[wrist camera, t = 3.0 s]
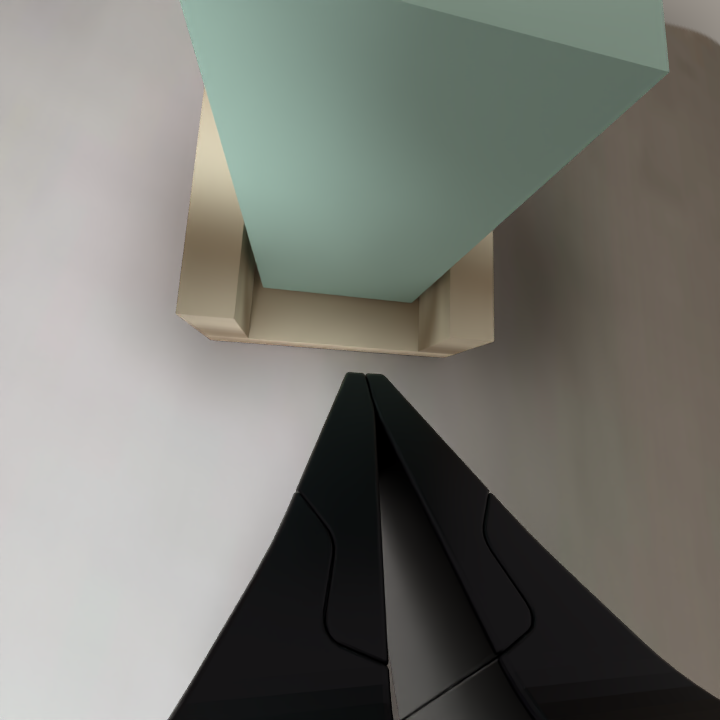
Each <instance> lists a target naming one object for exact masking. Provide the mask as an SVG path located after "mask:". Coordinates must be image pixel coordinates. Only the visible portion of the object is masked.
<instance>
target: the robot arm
mask: <svg viewBox="0 0 720 720" xmlns="http://www.w3.org/2000/svg"><path fill="white" fill-rule="evenodd" d="M488 493H489V490H488V489H487V487H486V486H485V485H484V484H483V483H482V482H481V481H480V480H479V479H478V478H477V476H476V475H475V474H474V473H473V472H472V471H471V470H470V469H469V468H468V467H467V466H466V464H465V463H464V462H463V461H462V460H461V459H460V458H459V457H458V456H457V455H456V453H455V452H454V451H453V450H452V449H451V448H450V447H449V446H448V445H447V444H446V443H445V441H444V440H443V439H442V438H441V437H440V436H439V435H438V434H437V433H436V432H435V430H434V429H433V428H432V427H431V426H430V425H429V424H428V423H427V422H426V421H425V420H424V418H423V417H422V416H421V415H420V414H419V413H418V412H417V411H416V410H415V409H414V407H413V406H412V405H411V404H410V403H409V402H408V401H407V400H406V399H405V398H404V397H403V395H402V394H401V393H400V392H399V391H398V390H397V389H396V388H395V387H394V386H393V384H392V383H391V382H390V381H389V380H388V379H387V378H386V377H385V376H384V375H382V374H369V373H368V374H366V375H364V374H363V373H354V372H348V373H346V375H345V377H344V379H343V382H342V384H341V386H340V389H339V391H338V393H337V396H336V398H335V400H334V403H333V405H332V407H331V410H330V412H329V414H328V417H327V419H326V421H325V424H324V426H323V428H322V431H321V433H320V435H319V438H318V440H317V442H316V445H315V447H314V449H313V451H312V454H311V456H310V458H309V461H308V463H307V465H306V468H305V470H304V472H303V475H302V477H301V479H300V482H299V484H298V486H297V489H296V493H294V495H293V497H292V500H291V502H290V504H289V507H288V509H287V511H286V513H285V516H284V518H283V520H282V522H281V524H280V526H279V528H278V530H277V533H276V535H275V537H274V539H273V541H272V543H271V545H270V547H269V548H268V550H267V552H266V554H265V556H264V558H263V559H262V561H261V563H260V565H259V567H258V569H257V570H256V572H255V574H254V576H253V578H252V579H251V581H250V583H249V585H248V586H247V588H246V590H245V591H244V593H243V595H242V596H241V598H240V600H239V602H238V603H237V605H236V607H235V608H234V610H233V612H232V613H231V615H230V617H229V619H228V620H227V622H226V624H225V625H224V627H223V629H222V630H221V632H220V634H219V636H218V637H217V639H216V641H215V642H214V644H213V646H212V647H211V649H210V651H209V653H208V654H207V656H206V658H205V659H204V661H203V663H202V664H201V666H200V668H199V670H198V671H197V673H196V675H195V676H194V678H193V680H192V681H191V683H190V685H189V686H188V688H187V690H186V691H185V693H184V694H183V696H182V698H181V699H180V701H179V703H178V704H177V706H176V707H175V709H174V711H173V712H172V714H171V715H170V717H169V718H168V720H393V714H392V704H391V693H390V679H389V669H388V667H387V665H388V661H389V660H388V651H389V657H390V663H391V670H392V676H393V682H394V689H395V695H396V702H397V708H398V714H399V719H400V720H720V700H719V699H718V698H716V697H715V696H713V695H711V694H710V693H708V692H707V691H705V690H704V689H702V688H701V687H699V686H698V685H696V684H695V683H693V682H692V681H691V680H689V679H688V678H687V677H685V676H684V675H682V674H681V673H680V672H678V671H677V670H676V669H675V668H673V667H672V666H671V665H670V664H668V663H667V662H666V661H665V660H663V659H662V658H661V657H660V656H659V655H657V654H656V653H655V652H654V651H653V650H652V649H651V648H650V647H648V646H647V645H646V644H645V643H644V642H643V641H642V640H641V639H640V638H639V637H638V636H637V635H635V634H634V633H633V632H632V631H631V630H630V629H629V628H628V627H627V626H626V625H625V624H624V623H623V622H622V621H621V620H620V619H618V618H617V617H616V616H615V615H614V614H613V613H612V612H611V611H610V610H609V609H608V608H607V607H606V606H605V605H604V604H603V603H602V602H600V601H599V600H598V599H597V598H596V597H595V596H594V595H593V594H592V593H591V592H590V591H589V590H588V589H587V588H586V587H585V586H583V585H582V584H581V583H580V582H579V581H578V580H577V579H576V578H575V577H574V576H573V575H572V574H571V573H570V572H569V571H568V570H567V569H565V568H564V567H563V566H562V565H561V564H560V563H559V562H558V561H557V560H556V559H555V558H554V557H553V556H552V555H551V554H550V553H549V552H548V551H547V550H546V549H545V548H544V547H543V546H542V545H541V544H540V543H539V542H538V541H537V540H536V539H535V538H534V537H533V536H532V535H531V534H530V533H529V532H528V531H527V530H526V529H525V528H524V527H523V526H522V525H521V524H520V523H519V522H518V521H517V520H516V519H515V518H514V516H513V515H512V514H511V513H510V512H509V511H508V510H507V509H506V508H505V507H504V506H503V505H502V504H501V503H500V501H499V500H498V499H497V498H496V497H495V496H494V495H493V494H492V493H489V494H488Z"/></svg>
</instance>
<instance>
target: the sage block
mask: <svg viewBox="0 0 720 720" xmlns="http://www.w3.org/2000/svg"><path fill="white" fill-rule="evenodd" d="M180 3H181V6H182V10H183V13H184V17H185V20H186V23H187V27H188V30H189V34H190V37H191V41H192V44H193V48H194V51H195V54H196V58H197V61H198V65H199V68H200V72H201V75H202V79H203V82H204V85H205V89H206V92H207V96H208V99H209V103H210V106H211V110H212V113H213V116H214V120H215V123H216V127H217V130H218V134H219V137H220V140H221V144H222V147H223V151H224V154H225V158H226V161H227V165H228V168H229V171H230V175H231V178H232V182H233V185H234V189H235V192H236V196H237V199H238V202H239V206H240V209H241V213H242V216H243V220H244V223H245V227H246V230H247V233H248V237H249V240H250V244H251V247H252V251H253V254H254V258H255V261H256V264H257V268H258V271H259V275H260V278H261V282H262V285H263V288H273V289H282V290H292V291H301V292H311V293H321V294H330V295H340V296H349V297H359V298H369V299H378V300H388V301H398V302H407V303H412V302H413V301H414V300H416V299H417V298H418V297H419V296H420V295H421V294H422V293H423V292H424V291H426V290H427V289H428V288H429V287H430V286H431V285H432V284H433V283H434V282H436V281H437V280H438V279H439V278H440V277H441V276H442V275H443V274H445V273H446V272H447V271H448V270H449V269H450V268H451V267H452V266H453V265H455V264H456V263H457V262H458V261H459V260H460V259H461V258H462V257H464V256H465V255H466V254H467V253H468V252H469V251H470V250H471V249H472V248H474V247H475V246H476V245H477V244H478V243H479V242H480V241H481V240H482V239H484V238H485V237H486V236H487V235H488V234H489V233H490V232H491V231H493V230H494V229H495V228H496V227H497V226H498V225H499V224H500V223H501V222H503V221H504V220H505V219H506V218H507V217H508V216H509V215H510V214H511V213H513V212H514V211H515V210H516V209H517V208H518V207H519V206H520V205H522V204H523V203H524V202H525V201H526V200H527V199H528V198H529V197H530V196H532V195H533V194H534V193H535V192H536V191H537V190H538V189H539V188H541V187H542V186H543V185H544V184H545V183H546V182H547V181H548V180H549V179H551V178H552V177H553V176H554V175H555V174H556V173H557V172H558V171H559V170H561V169H562V168H563V167H564V166H565V165H566V164H567V163H568V162H570V161H571V160H572V159H573V158H574V157H575V156H576V155H577V154H578V153H580V152H581V151H582V150H583V149H584V148H585V147H586V146H587V145H589V144H590V143H591V142H592V141H593V140H594V139H595V138H596V137H597V136H599V135H600V134H601V133H602V132H603V131H604V130H605V129H606V128H607V127H609V126H610V125H611V124H612V123H613V122H614V121H615V120H616V119H618V118H619V117H620V116H621V115H622V114H623V113H624V112H625V111H626V110H628V109H629V108H630V107H631V106H632V105H633V104H634V103H635V102H636V101H638V100H639V99H640V98H641V97H642V96H643V95H644V94H645V93H647V92H648V91H649V90H650V89H651V88H652V87H653V86H654V85H655V84H657V83H658V82H659V81H660V80H661V79H662V78H663V77H664V76H666V75H667V74H668V73H669V64H668V54H667V43H666V33H665V22H664V12H663V2H662V0H180Z"/></svg>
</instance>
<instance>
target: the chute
mask: <svg viewBox="0 0 720 720" xmlns="http://www.w3.org/2000/svg"><path fill="white" fill-rule="evenodd" d="M176 314H177V315H178V316H179V317H181V318H182V319H183V320H185V321H186V322H187V323H189V324H190V325H191V326H193V327H194V328H195V329H197V330H198V331H199V332H201V333H202V334H203V335H205V336H206V337H207V338H209V339H210V340H217V341H230V342H244V343H257V344H270V345H283V346H296V347H309V348H323V349H336V350H349V351H362V352H375V353H388V354H402V355H415V356H428V357H441V358H445V357H448V356H451V355H454V354H457V353H460V352H463V351H466V350H469V349H472V348H476V347H479V346H482V345H485V344H488V343H491V342H494V282H493V231H491V232H490V233H489V234H488V235H487V236H486V237H485V238H484V239H482V240H481V241H480V242H479V243H478V244H477V245H476V246H475V247H474V248H472V249H471V250H470V251H469V252H468V253H467V254H466V255H465V256H464V257H462V258H461V259H460V260H459V261H458V262H457V263H456V264H455V265H453V266H452V267H451V268H450V269H449V270H448V271H447V272H446V273H445V274H443V275H442V276H441V277H440V278H439V279H438V280H437V281H436V282H434V283H433V284H432V285H431V286H430V287H429V288H428V289H427V290H426V291H424V292H423V293H422V294H421V295H420V296H419V297H418V298H417V299H416V300H414V301H413V302H412V303H407V302H398V301H388V300H378V299H369V298H359V297H349V296H340V295H330V294H321V293H311V292H301V291H292V290H282V289H273V288H263V285H262V282H261V278H260V275H259V271H258V268H257V264H256V261H255V258H254V254H253V251H252V247H251V244H250V240H249V237H248V233H247V230H246V227H245V223H244V220H243V216H242V213H241V209H240V206H239V202H238V199H237V196H236V192H235V189H234V185H233V182H232V178H231V175H230V171H229V168H228V165H227V161H226V158H225V154H224V151H223V147H222V144H221V140H220V137H219V134H218V130H217V127H216V123H215V120H214V116H213V113H212V110H211V106H210V103H209V99H208V96H207V92H206V89H205V86H204V94H203V102H202V110H201V118H200V126H199V133H198V141H197V149H196V157H195V165H194V173H193V181H192V189H191V196H190V204H189V212H188V220H187V228H186V236H185V244H184V252H183V259H182V267H181V275H180V283H179V291H178V299H177V307H176Z"/></svg>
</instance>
